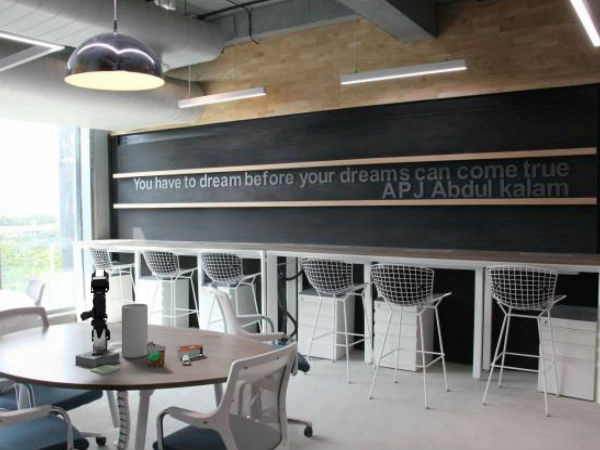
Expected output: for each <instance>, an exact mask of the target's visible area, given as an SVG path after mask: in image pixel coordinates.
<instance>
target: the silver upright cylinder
mask: <svg viewBox="0 0 600 450" xmlns="http://www.w3.org/2000/svg"><path fill="white" fill-rule="evenodd" d="M93 344H94V350H104V349H105V329H104V330H103V333H102V336H101V338H100V339H98V337H97V333H96V330H94V342H93Z"/></svg>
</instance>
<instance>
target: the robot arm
mask: <svg viewBox="0 0 600 450" xmlns="http://www.w3.org/2000/svg"><path fill="white" fill-rule="evenodd" d="M109 275H110V273H108V272H107V271H106V269H105V268H104V267H103V268H96V269H94V271H93V272H92V273H91V278H90V279H91V280H90V294H92V308H91V309H89V310H85V311H82V312H81V313H80V314H79V316H80V319H81V321H82V322H85V321H86V320H89V319H91V321H90V326H91V327H92V329H91V342H92V343H93V344H92V351H94V330H96V333H97V337H98V339H100V338H101V336H102V333H103V330H104V329H105V349H104V350H106V351H110V350H109V349H108V341H110V340H111V331H110V329H109V328H108V324H107V322H108V317H109V316H108V313H107V294H108V293H109V292H110V276H109Z"/></svg>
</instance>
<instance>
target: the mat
mask: <svg viewBox="0 0 600 450" xmlns="http://www.w3.org/2000/svg"><path fill="white" fill-rule="evenodd" d="M120 369H121V367H120V366H114V365H111V364H109V365H104V366H100V367H97V368H92V369H91V368H90V372H92V373H97V374H101V375H106V374H110V373H113V372H116V371H119V370H120Z"/></svg>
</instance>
